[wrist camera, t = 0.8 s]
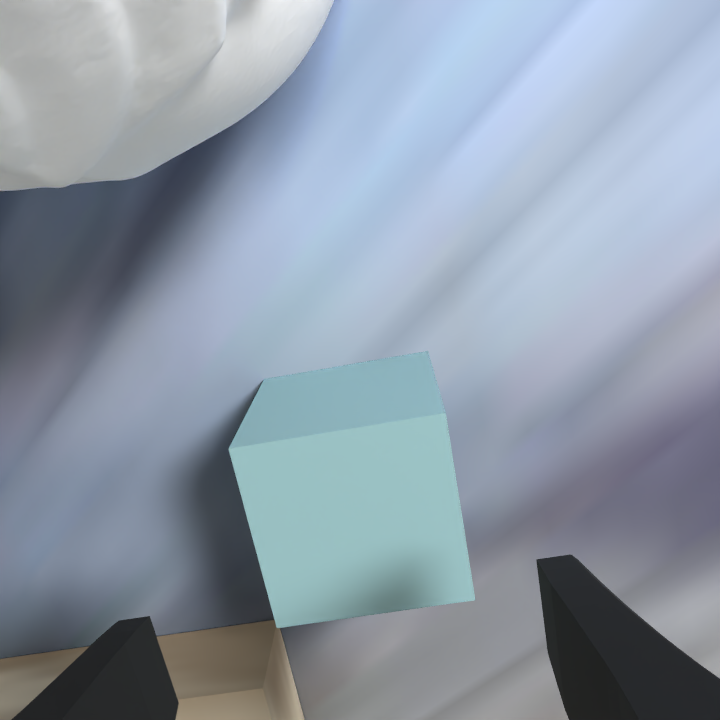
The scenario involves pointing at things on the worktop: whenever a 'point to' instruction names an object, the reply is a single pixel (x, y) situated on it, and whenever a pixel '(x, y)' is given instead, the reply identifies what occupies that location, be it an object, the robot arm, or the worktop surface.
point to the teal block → (353, 492)
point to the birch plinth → (188, 674)
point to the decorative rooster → (135, 80)
